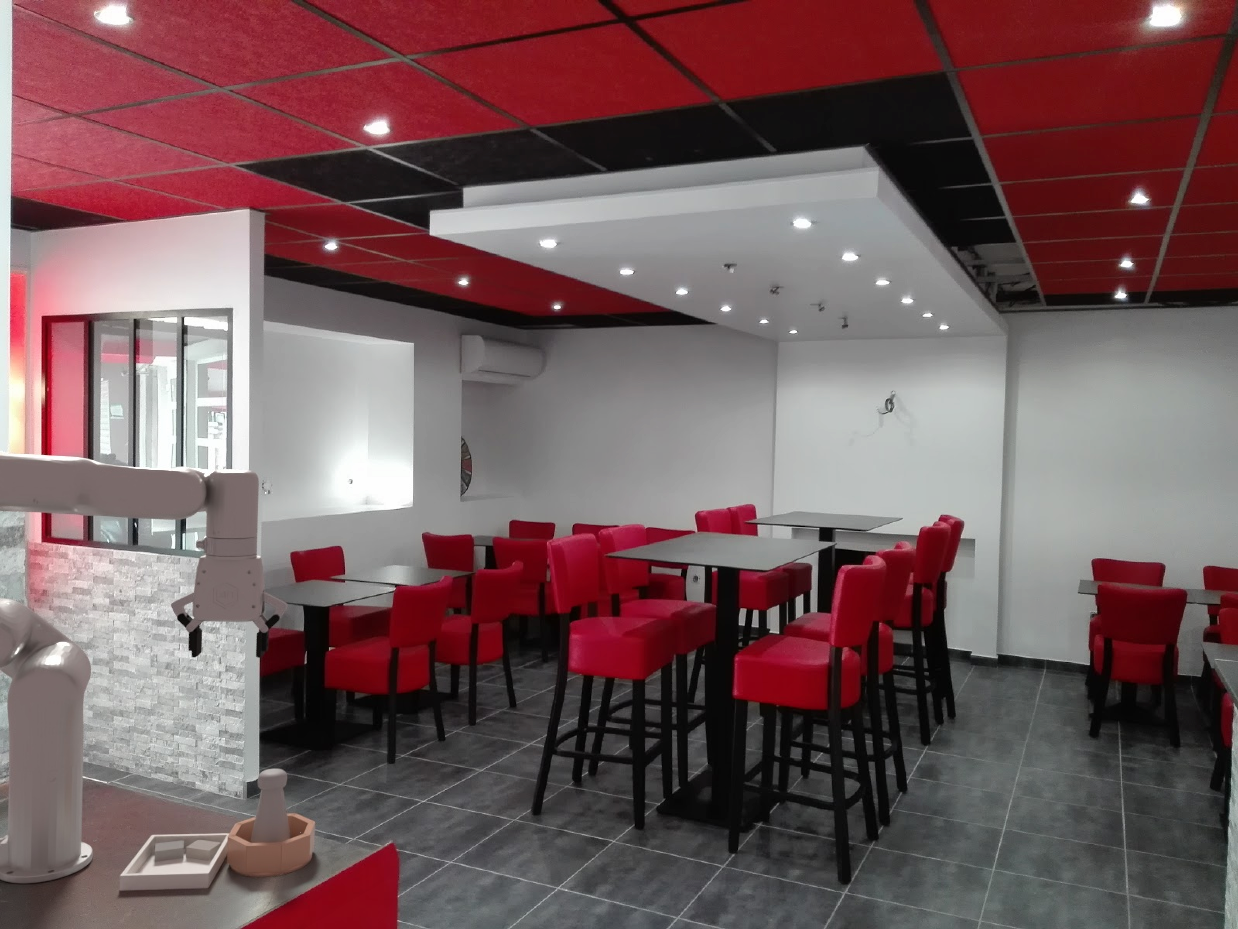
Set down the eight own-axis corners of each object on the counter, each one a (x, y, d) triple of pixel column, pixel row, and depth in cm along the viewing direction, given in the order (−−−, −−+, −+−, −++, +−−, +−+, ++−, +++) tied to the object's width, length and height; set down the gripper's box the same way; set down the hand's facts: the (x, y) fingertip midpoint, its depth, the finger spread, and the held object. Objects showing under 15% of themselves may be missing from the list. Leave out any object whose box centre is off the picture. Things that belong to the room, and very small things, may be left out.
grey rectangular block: (154, 862, 148) (154, 851, 148) (155, 853, 150) (155, 843, 150) (183, 858, 149) (183, 848, 149) (183, 850, 152) (183, 840, 152)
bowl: (220, 878, 143) (221, 846, 143) (239, 844, 155) (240, 814, 155) (305, 876, 145) (306, 844, 145) (317, 842, 157) (318, 813, 157)
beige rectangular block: (185, 857, 150) (186, 847, 150) (197, 849, 153) (198, 839, 152) (209, 861, 149) (209, 850, 149) (220, 852, 152) (221, 842, 152)
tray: (119, 891, 139) (119, 875, 138) (151, 848, 152) (151, 835, 152) (208, 888, 140) (208, 873, 140) (231, 847, 154) (232, 833, 154)
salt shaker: (276, 865, 147) (279, 779, 146) (242, 860, 148) (244, 775, 147) (296, 849, 153) (299, 767, 152) (263, 844, 154) (265, 763, 153)
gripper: (166, 549, 148) (163, 661, 149) (284, 552, 151) (280, 661, 152) (180, 543, 156) (177, 650, 156) (292, 546, 158) (289, 650, 159)
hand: (228, 655), depth 154 cm, fingers open, 9 cm apart
